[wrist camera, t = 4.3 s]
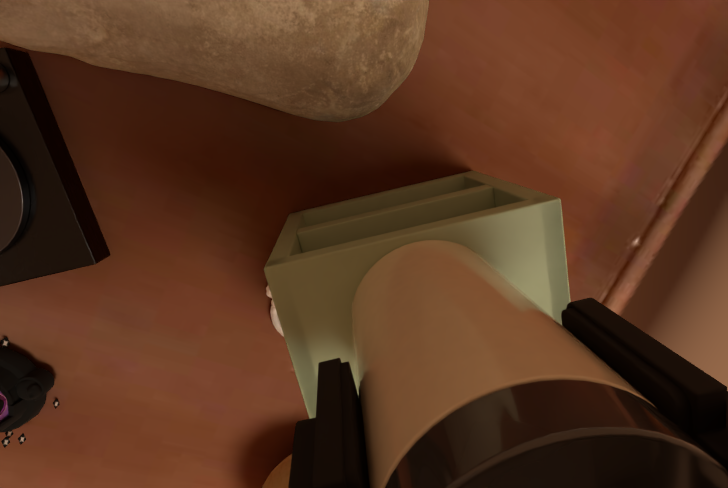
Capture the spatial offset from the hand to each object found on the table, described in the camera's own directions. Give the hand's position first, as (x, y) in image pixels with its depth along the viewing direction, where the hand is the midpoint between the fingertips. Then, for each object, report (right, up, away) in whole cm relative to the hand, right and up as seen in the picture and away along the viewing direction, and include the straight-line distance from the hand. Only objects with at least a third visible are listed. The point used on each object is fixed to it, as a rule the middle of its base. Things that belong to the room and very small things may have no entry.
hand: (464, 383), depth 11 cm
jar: (0, +1, +4) cm, 4 cm away
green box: (-1, +3, +13) cm, 13 cm away
